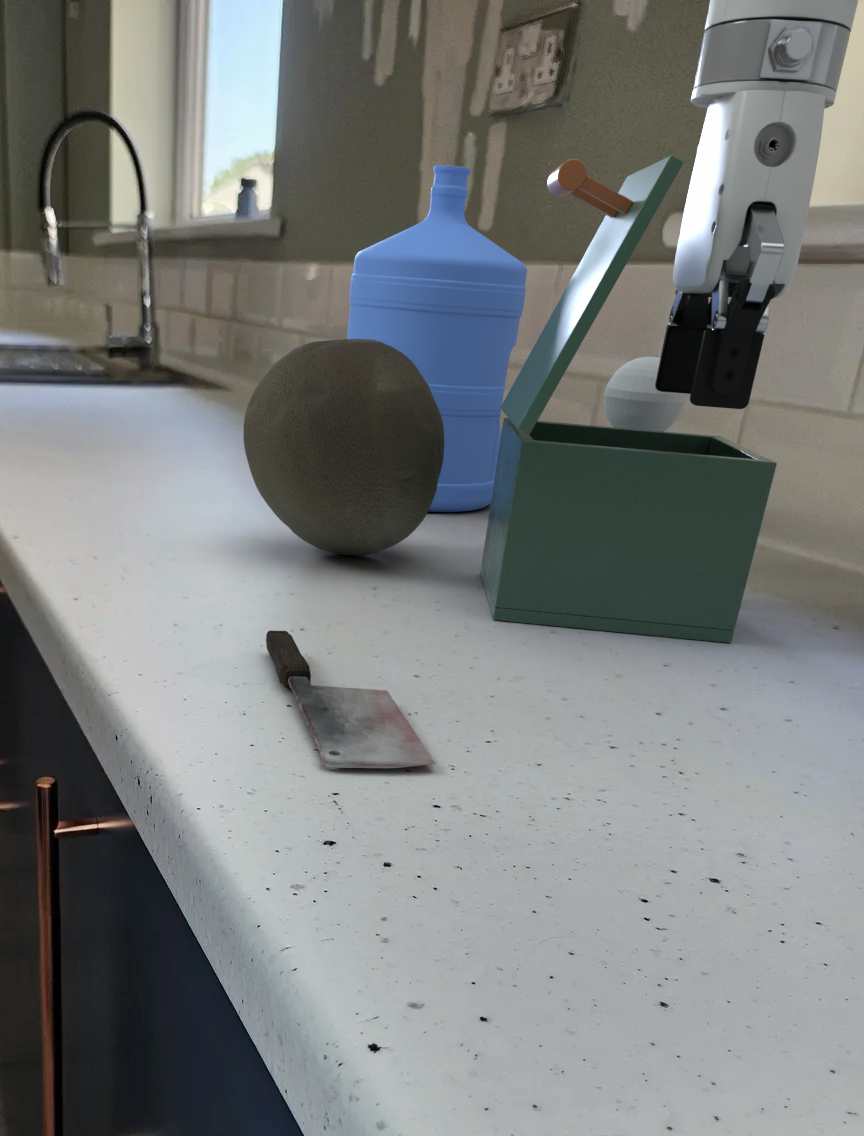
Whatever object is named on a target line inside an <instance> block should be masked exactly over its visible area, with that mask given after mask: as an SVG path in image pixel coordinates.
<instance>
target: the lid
mask: <svg viewBox="0 0 864 1136" xmlns="http://www.w3.org/2000/svg"><path fill="white" fill-rule="evenodd" d="M683 166H684V161H683V160H681V159H680V158H678V157H676V156H674V155H672V154H671V155H669V156H666V157H665V158H663V159H660V160H659V161H656V162H655V163H653V164H650V165H648V166H646V167H644V168H642V169H639V170H638V171H635V172H634V173H631V174H630V175H628V176H627V177H626V178H625V180H624V181H623V183H622V186H621V187H620V189H619V191H616V190H614V189H612V188H610V187H608V186H607V185H605V184H604V183H601V182H600V181H598V180H596V179H594V178H593V177H591V176H589V175H588V170H587V167H586V165H585V163H584V162H583V161H582V160H580V159H578V158H569V159H567V160H565V161H564V162H563V163H561V164H560V165H558V166H557V167H556V168H555V169H554V170H553V171H551V172H550V174H549V176H548V178H547V185H546V186H547V189H548V191H549V193H550V194H551V195H552V196H554V197H556V198H564V197H566V196H568V195H570V196H572V197H574V198H575V199H577V200H579V201H581V202H582V203H584V204H586V205H588V206H589V207H592V208H593V209H594V210H596V211H598V212H600V213H602V214H603V215H605V216H604V218H603V219H602V222H601V224H600V225H599V227H598V228H597V230H596V232H595V235H594V236H593V238H592V240H591V242H590V243H589V245H588V247H587V249H586V251H585V253H584V254H583V256H582V258H581V260H580V262H579V263H578V264H577V267H576V269H575V270H574V273H573V275H572V276H571V278H570V279H569V282H568V283H567V285H566V287H565V289H564V290H563V293H562V294H561V296H560V298H559V299H558V302H557V304H556V305H555V308H554V309H553V310H552V312H551V315H550V316H549V318H548V320H547V322H546V324H545V325H544V327H543V329H542V331H541V332H540V334H539V336H538V338H537V340H536V341H535V344H534V345H533V347H532V348H531V351H530V353H529V355H528V356H527V358H526V360H525V362H524V364H523V365H522V367H521V368H520V371H519V372H518V375H517V377H516V378H515V380H514V382H513V384H512V386H511V387H510V389H509V391H508V393H507V394H506V396H505V398H504V399H503V402H502V405H501V407H500V408H501V412H502V413H504V414H505V416H506V418H509V419H510V420H511V422H512V423H513V424H514V425H515V427H516V428H517V429H518V430H519V431H521V432H523V433H525V434H527V435H530V433H531V431H532V430H533V428H534V426H535V424H536V422H537V421H539V419H540V417H541V415H542V414H543V412H544V410H545V409H546V407H547V405H548V403H549V401H550V400H551V397H552V396H553V394H554V393H555V391H556V389H557V388H558V385H559V384H560V382H561V380H562V378H563V377H564V375H565V373H566V372H567V370H568V368H569V366H570V365H571V362H572V361H573V359H574V357H575V356H576V355H577V352H578V350H579V348H580V347H581V345H582V344H583V342H584V340H585V338H586V336H587V335H588V332H589V331H590V329H591V327H592V325H593V324H594V322H595V321H596V318H597V317H598V315H599V313H600V311H601V310H602V308H603V307H604V304H605V303H606V301H607V299H608V297H609V296H610V294H611V292H612V290H613V289H614V287H615V285H616V283H617V281H618V280H619V278H620V276H621V275H622V273H623V271H624V270H625V267H626V266H627V264H628V262H629V260H630V259H631V257H632V255H633V253H634V251H635V249H636V248H637V246H638V244H639V242H640V241H641V239H642V237H643V236H644V233H645V232H646V230H647V229H648V227H649V225H650V223H651V221H652V220H653V218H654V216H655V214H656V212H657V211H658V210H659V207H660V205H661V204H662V202H663V200H664V199H665V196H667V193H668V192H669V190H670V188H671V186H672V185H673V183H674V181H675V179H676V177H677V175H678V174H679V172H680V170H681V169H682V167H683Z"/></svg>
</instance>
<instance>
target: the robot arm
mask: <svg viewBox="0 0 864 1136" xmlns="http://www.w3.org/2000/svg"><path fill="white" fill-rule="evenodd" d="M858 3H859V0H709V4H708V12H707V16H706V20H705V26H704V31H703V36H702V42H701V47H700V52H699V57H698V62H697V68H696V73H695V78H694V84H693V87H692V88H693V90H692V93H691V98H690V103H691V104H692V105H693V106H696V107H698V108H699V107H700V108H703V109H707V110H706V115H705V118H704V122H703V126H702V127H703V128H702V131H701V134H700V135H701V136H700V139H699V142H698V143H699V144H698V145H697V147H696V156H695V160H694V165H693V168H692V169H693V170H692V172H691V177H690V182H689V186H688V192H687V196H686V201H685V205H684V209H683V215H682V220H681V225H680V230H679V235H678V240H677V246H676V251H675V256H674V257H675V258H674V262H673V263H674V264H673V272H672V283H673V285H674V287H675V288H676V289H675V297H674V300H673V303H672V306H671V308H670V312H669V315H668V324H666V328H665V333H664V338H663V339H664V340H663V344H662V348H661V353H660V357H659V358H660V363H659V368H658V373H657V378H656V383H655V387H656V389H657V390H658V391H661V392H673V393H686V395H687V394H688V395H689V402H690V403H691V404H692V405H693V406H696V407H706V408H719V409H722V408H723V409H733V410H743V409H746V408H747V407H748V405H749V403H750V399H751V395H752V390H753V386H754V382H755V378H756V374H757V369H758V366H759V365H758V364H759V360H760V356H761V352H762V348H763V344H764V339H765V333H766V331H767V328H768V324H769V320H770V302H771V301H772V300H773V299H779V298H781V297H782V296H784V295H785V294H786V293H787V292H789V291H790V289H791V288H792V287H793V284H794V282H795V278H796V273H797V269H798V266H799V265H798V264H799V259H800V255H801V251H802V244H803V241H804V234H805V230H806V225H807V220H808V215H809V210H810V204H811V198H812V193H813V190H814V189H813V188H814V184H815V183H814V182H815V179H816V174H817V173H816V172H817V168H818V167H817V166H818V159H819V153H820V148H821V141H822V134H823V124H824V117H825V115H824V114H825V109H828V108H830V107H833V106H834V104H835V100H836V97H837V91H838V87H839V83H840V79H841V74H842V70H843V67H844V62H845V58H846V53H847V49H848V46H849V40H850V36H851V32H852V29H853V25H854V20H855V17H856V13H857V8H858ZM709 298H710V300H709ZM729 298H730V300H729Z"/></svg>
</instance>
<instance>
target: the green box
mask: <svg viewBox="0 0 864 1136" xmlns="http://www.w3.org/2000/svg"><path fill="white" fill-rule="evenodd" d="M501 428H502V434H501V441H500V447H499V454H498V460H497V467H496V473H495V480H494V486H493V493H492V499H491V503H490V507H489V513H488V521H487V525H486V532H485V540H484V548H483V553H482V559H481V565H480V572H479V573H480V577H481V580H482V584H483V587H484V592H485V595H486V598H487V602H488V605H489V609H490V612H491V616H492V619H493V621H499V622H501V621H502V622H511V623H520V624H521V623H522V624H529V625H531V624H532V625H541V626H551V627H561V628H572V629H583V630H590V631H591V630H592V631H602V632H612V633H624V634H634V635H645V636H655V637H665V638H674V639H675V638H676V639H684V640H693V641H694V640H695V641H706V642H716V643H726V644H731V643H732V642H733V637H734V633H735V629H736V627H737V626H736V625H737V621H738V618H739V615H740V614H739V613H740V610H741V605H742V602H743V598H744V594H745V591H746V586H747V582H748V580H749V579H748V578H749V575H750V571H751V567H752V563H753V559H754V556H755V551H756V547H757V544H758V540H759V535H760V531H761V527H762V523H763V519H764V517H765V512H766V509H767V505H768V500H769V496H770V493H771V489H772V484H773V480H774V477H775V473H776V470H777V466H778V463H777V461H774V460H772V459H769V458H768V457H765V456H763V455H762V454H760V453H757V452H755V451H753V450H751V449H748V448H746V447H744V446H742V445H740V444H738V443H735V442H734V441H731V440H729V439H727V438H725V437H723V436H721V435H709V434H697V433H687V432H686V433H685V432H673V431H652V430H640V429H628V428H617V427H613V426H604V425H603V426H602V425H591V424H582V423H581V424H580V423H570V422H569V423H568V422H556V421H545V420H544V421H543V420H538V421H537V422H536V424H535V426H534V428H533V430H532V431H531V433H530V435H527V434H525V433H523V432H521V431H519V430H518V429H517V428H516V427H515V425H514V424H513V423H512V422H511V420H510V419H509V418H508V417H503V422H502V427H501Z"/></svg>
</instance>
